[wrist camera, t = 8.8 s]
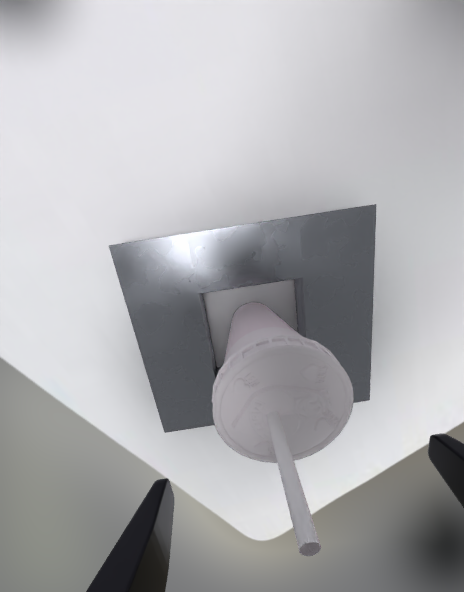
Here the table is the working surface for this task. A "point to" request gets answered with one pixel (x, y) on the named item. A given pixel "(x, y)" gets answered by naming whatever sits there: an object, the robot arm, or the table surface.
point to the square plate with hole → (239, 273)
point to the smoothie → (280, 402)
